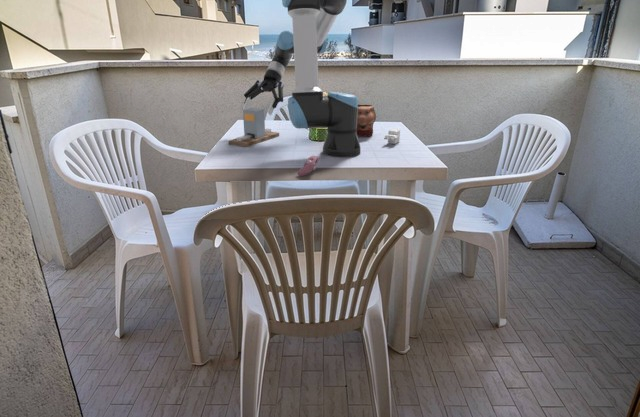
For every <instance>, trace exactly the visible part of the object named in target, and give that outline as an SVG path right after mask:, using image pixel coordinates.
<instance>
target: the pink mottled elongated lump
mask: <svg viewBox="0 0 640 417" xmlns="http://www.w3.org/2000/svg"><path fill="white" fill-rule="evenodd" d="M319 159H320V157H318V156H316V155H314V154H313V155H312V156H309V157H308V159H307V161H306V162H304V163H303V165H302V166H303V167H301V168H299V170H298V171H297V175H298V177H304V176H306V175H311V173H312V172H313V171H315V170H316V165H317V164H318V162H319Z"/></svg>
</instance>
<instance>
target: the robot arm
mask: <svg viewBox="0 0 640 417" xmlns="http://www.w3.org/2000/svg"><path fill="white" fill-rule="evenodd" d="M281 2H282V3H281V4H282V7H284V8H285V9H287V14H288V15H289V17H290V18H291V20H292V21H291V22H292V32H291V31H290V30H283V31H281V32H280V33H279V35H278V37H277V40H276V45H275V50H274V54H273V57H272V59H271V61H270V63H269V65H268V67H267V68H266V71H265V73H264V75H263V80H262V81H260V80H259V79H258V80H256V81H255V82H254V84H253V85H252V86H251V87H249V89H248V90H247V91H246V92H245V93H244V94H243V97H244V98H245V101H244V102H243V107H242V111H243V110H244V109H248V108H250V106H251V104H252V102H253V99H255V98H256V97H257V96H259V95H261V93H262V94H263V93H272V95H273V99H272V100H271V102H270V104H269V106H268V108H267V113H268V115H269V116H272V114H273V113H274V111H275V109H276V108H277V106H278V104H279V103H283V102H284V91H283V90H284V87H285V86H284V84H283V82H282V81H281V80H282V78H283V76H284V74H285V71H286V69H287V67H288V65H289V63H290V61H291V59H292V56H294V57H293V58H294V77H295V78H294V80H295V81H294V82H295V88H294V89H293V90H292V91H291V96H290V97H288V98H287V111H288V116H289V120H290V122H291V124H292V126H293V127H294V128H296V129H305V130H306V129H317V128H318V129H319V128H320V129H321V128H327V130H326V132H327V133H326V136H325V138H324V142H323V145H322V153H323V154H324V155H327V156H329V157H334V158H336V157H337V158H348V157H356V156H359V155H360V154H361V144H360V140H359V138H358V137H359V136H357V115H358V105H359V104H358V102H359V101H358V97H357V95H355V94H352V93H351V94H350V93H346V92H345V93H344V92H338V91H328V92H327V96H324V91H323V90H322V88H320V86H319V63H318V59H319V58H318V55H319V54H325V52H326V49H327V36H328V34H329V32H330V30H331V28H332V26H333V25H334V22H335V20H336V19H337V17H338V15H340V14H341V13H342V12H343V11H344V9H345V7H346V4H347V0H281ZM276 89H277V92H276ZM277 93H278V94H277Z"/></svg>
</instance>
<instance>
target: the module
mask: <svg viewBox="0 0 640 417" xmlns="http://www.w3.org/2000/svg"><path fill="white" fill-rule="evenodd" d="M242 117H243V118H242V119H243V134H244V135H248V134H251V133H252V134H255V138H256V139H258V138H261V137H264V136H265V129H266V123H265V122H266V121H265V109H264V108H257V107H249V108H248V109H244V110H243V109H242ZM244 135H243V136H244Z"/></svg>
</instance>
